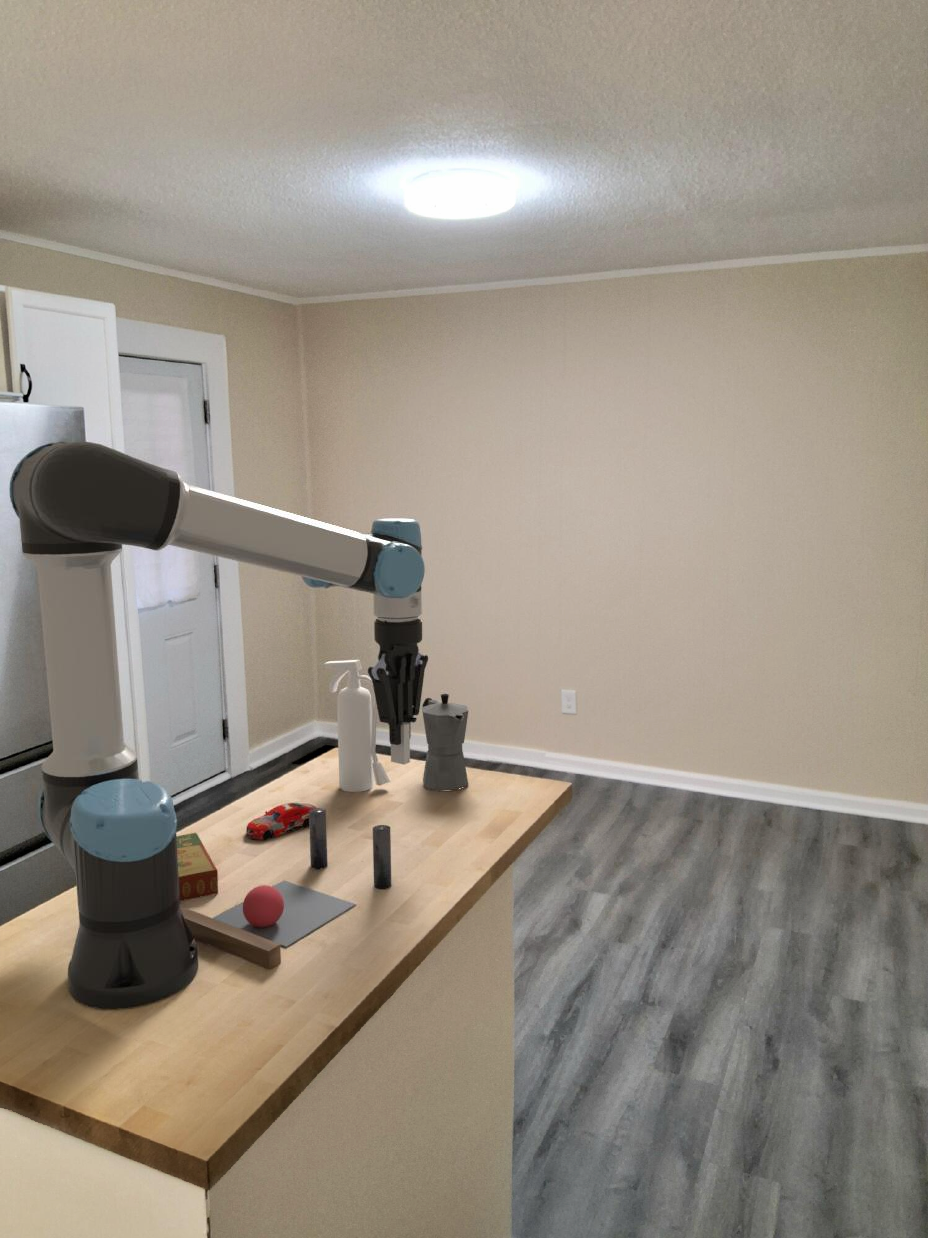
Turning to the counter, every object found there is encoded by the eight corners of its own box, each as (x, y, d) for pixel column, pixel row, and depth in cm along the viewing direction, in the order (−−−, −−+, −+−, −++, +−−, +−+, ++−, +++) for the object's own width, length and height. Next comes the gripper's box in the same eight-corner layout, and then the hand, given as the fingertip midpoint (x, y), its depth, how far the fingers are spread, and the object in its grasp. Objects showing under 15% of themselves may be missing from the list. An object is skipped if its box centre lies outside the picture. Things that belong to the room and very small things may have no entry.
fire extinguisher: (381, 796, 176) (375, 664, 173) (324, 790, 181) (318, 662, 177) (396, 785, 183) (391, 658, 179) (341, 780, 187) (335, 655, 184)
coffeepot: (483, 789, 180) (483, 698, 177) (439, 798, 176) (438, 704, 173) (445, 767, 193) (445, 681, 190) (404, 774, 189) (402, 687, 186)
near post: (384, 891, 138) (382, 833, 137) (370, 886, 140) (369, 829, 138) (395, 884, 140) (393, 827, 139) (381, 880, 142) (380, 823, 140)
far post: (319, 870, 145) (318, 815, 144) (307, 867, 147) (305, 812, 145) (331, 864, 147) (329, 810, 146) (318, 861, 149) (316, 806, 147)
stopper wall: (269, 969, 117) (268, 951, 117) (173, 930, 127) (172, 913, 127) (280, 962, 119) (280, 944, 118) (185, 924, 129) (184, 907, 128)
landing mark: (286, 948, 122) (286, 946, 122) (212, 919, 130) (212, 918, 130) (355, 905, 134) (355, 904, 134) (284, 881, 142) (284, 880, 141)
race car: (255, 846, 156) (254, 823, 155) (240, 836, 160) (239, 813, 159) (324, 825, 164) (323, 803, 163) (307, 816, 168) (306, 794, 167)
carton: (161, 908, 134) (159, 880, 134) (144, 865, 148) (142, 840, 148) (220, 895, 138) (218, 868, 137) (198, 855, 152) (196, 830, 151)
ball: (256, 925, 123) (275, 885, 126) (227, 914, 126) (246, 875, 129) (280, 938, 127) (298, 899, 130) (251, 927, 130) (269, 889, 133)
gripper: (391, 626, 140) (394, 777, 144) (441, 613, 151) (442, 755, 155) (352, 621, 144) (356, 769, 148) (404, 609, 155) (406, 747, 159)
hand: (400, 761), depth 152 cm, fingers closed
